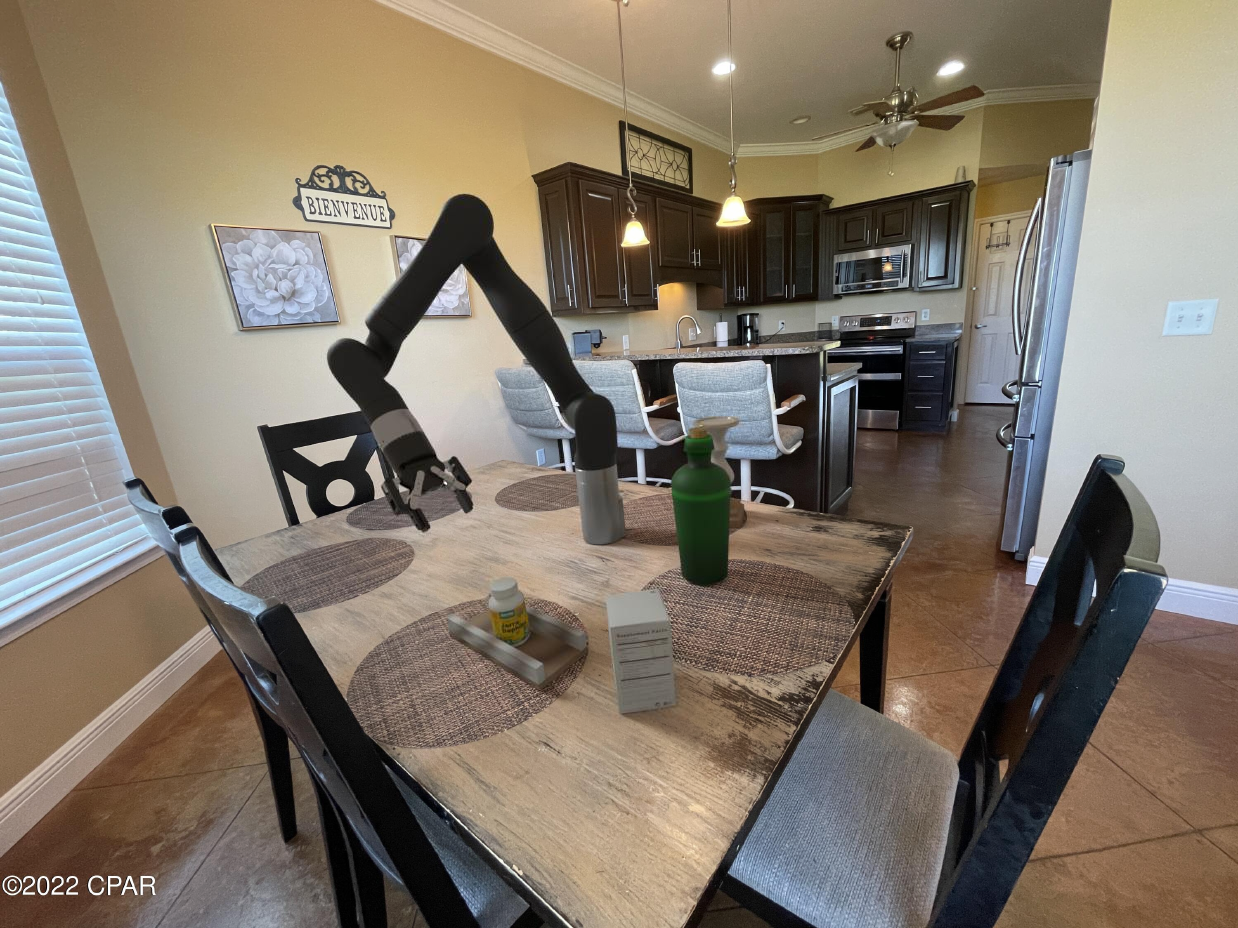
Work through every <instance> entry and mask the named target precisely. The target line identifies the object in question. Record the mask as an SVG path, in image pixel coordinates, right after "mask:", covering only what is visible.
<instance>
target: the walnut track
mask: <svg viewBox="0 0 1238 928" xmlns="http://www.w3.org/2000/svg"><path fill="white" fill-rule="evenodd" d="M491 596H492V595H491V592H489V593H488V599H489V600H490V598H491ZM526 610H527V616H528V622H529V627H530V636H529V638H528V639H527V641H526V642H525V643H523V644H522V645H520V646H517V647H512V646H510V645H508V644H506V643H505V642H503V641H501V640H499V639H497V638H496V637H495V635H494V630H493V625H492V620H491V615H490V610H489V607H488V608H486V609H484V610H483V611H481V612H479V613H477V614H476V615H474V616H473V617H471V618H469V619H468V620H467V619H466V620H465V619H463V618H462V617H459V616H457V615H455V614H454V613H452V614H450V615H448V616H446V623H447V627H448V632H449V637H451V638H452V639H454V640H456V641H457V642H458V643H461V644H462V645H464V646H466V648H469V649H470V650H472V651H474V652H475V653H477V654H479V655H480V656H481V657H483V658H485V659H487V660H488V661H490V662H492V663H493V664H495V665H497V666H498V667H500V668H501V669H503V670H505V671H507V672H508V673H510V674H511V675H513V676H515V677H516V678H518V679H520V680H521V681H523V682H525V683H526V684H528V685H529V686H531V687H532V688H535V689H536V690H538V691H539V692H540V691H542V690H543V689H544V688H545V687H547V686H548V685H549V684H550V683H551V682H553V681H554V680H555V679H556V678H558V677H559V676H560V675H562V673H564V672H565V671H567V669H569V668H571V666H573V665H574V664H575V663H576V662H578V661H579V660H580V659H581V658H582V657H584V656H585V655H586V654H588V647H587V637H586V632H585V631H584V630H581V629H579V628H577V627H575V626H573V625H570V624H569V623H566V622H563V621H561V620H560V619H557V618H556V617H553V616H551V615H548V614H546V613H544V612H542V611H540V610H539V609H536V608H533V607H531V606H529V605H526Z"/></svg>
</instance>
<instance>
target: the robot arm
mask: <svg viewBox="0 0 1238 928" xmlns="http://www.w3.org/2000/svg"><path fill="white" fill-rule="evenodd" d="M494 225H495V224H494V217H493V214H492V212H491V209H490V208H489V206H488V205H487V203H485V201H483V199H481V198H479V197H477V196H476V195H475V194H474V195H473V194H470V193H462V194H461V193H460V194H456V195H452V196H451V197H450V198H448V200H447V201H446V202H445V203H444V204H443V206H442V207H441V211H440V213H439V216H438V218H437V220H436V221H435V224H434V226H433V227H432V230H431V231H430V233H429V235H428V237H427V238H426V240H425V242H424V243H423V244H422V246H421V247H420V248H419V251H418V252H417V253H416V254H415V256H414V258H412V260H411V261H410V263H409V264H408V265H407V266H406V267H405V268H404V269H403V271H402V272H401V273H400V275H399V276H398V277H397V278H396V279H395V280H394V281H393V283H392V284H391V285H390V286H388V287H389V288H387V290H386V291H385V292H384V293H383V294H382V296H381V297H380V298H379V300H378V301H377V302H376V303H375V305H374V306H373V307H372V309H371V310H370V311H369V312H368V313H367V315H366V317H365V319H364V323H365V326H366V327H367V329H368V331H369V332H368V335H367V337H366V339H365V342H364V343H363V342H361V341H360V340H358V339H354V338H351V337H349V338H348V337H342V338H339V339H336V340H335V341H333V342H332V343H331V344H330V346H329V347H328V349H327V353H326V362H327V366H328V368H329V370H330V372H331V374H332V376H333V377H334V379H335V380H336V381H337V383H338V384H339V385H340V386H341V387H342V389H343V390H344V391H345V392H346V394H347V395H348V396H349V397H350V398H351V399H352V400H353V401H354V403H356V405H357V406H358V408H359V409H360V411H361V414H362V415H363V417H364V418H365V420H366V421H365V422H367V424H368V426H369V427H370V429H371V432H372V435H373V437H374V439H375V441H376V442H377V445H378V447H379V449H380V450H381V452H382V453H383V455H384V457H385V459H386V460H387V462H388V464H389V466H390V467H391V469H392V471H393V472H394V473H395V474H396V477H394V478H391V477H389V476H387V477H386V478H385V479H384V481H383V482H382V484H381V485H380V488H381V490H382V492H383V495H384V497H385V498H386V501H387V503H388V505H389V506H390V509H391V510H392V513H393V514H394V515H395V516H400V515H407V516H409V518H410V520H411V521H412V523H413V525H414V526H415V528H416V529H417V530H418V531H421V533H427V532H428V531H429V530H430V529H431V524H430V522H429V521H428V519H427V517H426V515H425V514H424V512H423V510H422V509H421V508H420V507H419V508H418V506H419V502H420V497H421V496H424V495H427V494H428V493H429V492H435V491H437V490H439V489H440V490H443V491H445V492H450V493H451V494H453V495H455V499H456V500H457V503H458V504H459V506H460V507H461V510H462V511H463V513H464V514H466V515H467V514H470V513H471V512H472V511H474V502H473V500H472V498H471V497H470V495H469V494H468V492H467V488H468V486H469V485H471V483H473V481H472V478H471V477H470V474H469V473H468V472H467V471H466V469H465V467H464V466H463V465H462V463H461V461H460V460H459V458H458V457H457V456H456V455H453V456H451V457H450V458H449V459H448V460H445V461H441V460H440V458H438V455H437V452H436V450H435V448H434V447H433V445H432V443H431V442H430V440H429V438H428V437H427V435H426V433H425V431H424V430H423V428H422V426H421V424H420V423H419V421H418V420H417V419H416V417H415V416H414V415H413V413H412V412H411V411H410V409H409V407H408V405H407V404H406V402H405V400H404V399H403V397H402V395H401V394H400V392H399V391H398V390H397V388H396V387H394V386H393V385H392V384H390V382H388V381H387V380H386V378H387V376H388V375H389V373H390V371H391V370H392V368H393V366H394V364H395V361H396V359H397V357H398V355H399V352H400V350H401V347H402V346H403V343H404V341H405V340H406V338H408V336H409V335H410V334H411V333H412V331H413V330H414V329H415V327H416V326H417V325H418V324H419V322H420V321H421V320H422V318H423V317H424V316H425V315H426V313H427V312H428V311H429V308H430V307H431V305H432V304H433V302H434V301H435V299H436V298H437V296H438V295H439V293H440V292H441V290H442V289H443V287H444V285H445V284H446V283H447V282H448V280H449V279H450V278H451V276H452V275H453V274H454V273H455V271H457V270H458V268H459V267H460V266H461V265H462V266H463V268H464V269H465V270H466V271H467V272H468V274H469V275H470V276H471V278H472V279H474V281H475V282H476V284H477V285H478V287H479V288H480V290H482V293H483V294H484V296H485V298H486V299H487V301H488V304H489V306H490V307H491V308H492V310H493V312H494V313H495V315H496V317H497V318H498V320H499V321H500V323H501V325H502V326H503V328H504V330H505V331H506V333H507V334H508V335H509V338H510V339H511V340H512V341H513V343H514V344H515V346H516V348H518V350H519V352H520V353H521V354H522V356H523V357H524V358H525V359H526V360H527V362H528V363H529V364H530V366H531V367H532V368H533V370H534V371H535V372H536V374H537V375H538V376H539V377H540V378H541V379H542V380H543V382H544V383H545V384H546V386H547V387H548V388H549V390H550V391H551V394H552V395H553V397H554V399H555V400H556V403H557V404H558V407H560V410H561V412H562V413H563V415H564V418H565V419H566V422H567V423H568V424H569V426H570V427H571V428H572V429H573V430H574V439H575V445H576V446H575V447H576V451H575V453H574V457H573V462H574V470H575V477H576V485H577V495H578V496H577V497H578V503H579V513H580V521H581V522H580V523H581V529H582V537H583V540H584V541H585V542H586V543H588V544H590V545H591V544H592V545H607V544H611V543H614V542H618V541H619V540H620V539H622V538H624V537H626V536H627V531H626V530H627V529H626V521H625V520H626V519H625V511H624V509H625V508H624V500H623V499H624V498H623V496H621V495H620V488H619V478H618V477H619V476H618V467H617V453H618V447H619V446H618V445H619V443H618V442H619V441H618V427H617V426H618V425H617V424H618V423H617V416H616V415H617V414H616V411H615V407H614V405H613V403H612V401H611V400H610V399H608V398H607V396H604V395H603V394H599V393H596V392H595V391H594V390H593V389H592V388H591V386H589V384H588V383H587V382H586V380H585V379H584V378H583V376H582V375H581V373H580V372H579V371H578V368H577V367H576V365H575V364H574V362H573V358H572V356H571V354H570V350H569V348H568V345H567V342H566V339H565V337H564V335H563V332H562V331H561V329H560V327H559V325H558V324H557V322H556V320H555V319H554V318H553V315H551V313H550V311H549V309H548V307H546V305H545V304H544V303H543V301H542V300H541V298H540V296H538V295H537V294H536V293H535V292H534V291H533V289H532V288H531V287H530V286H529V284H527V283H526V282H525V281H524V280H523V279H522V278H521V277H520V275H518V274H517V273H516V272H515V271H514V269H513V268H512V266H511V265H510V264H509V262H508V261H507V259H506V257H505V256H504V255H503V253H502V250H501V248H500V247H499V246H498V243H497V242H496V239H495V238H494V236H493V235H494V232H495V231H494V229H495V227H494ZM446 470H447V472H449V473H451V474H452V475H450V474H448V473H446V472H445V471H446ZM444 481H445V482H444ZM400 487H403V488H405V489H406V490H408V492H407V497H406V503H405V502H404V500H403V498H402V496H401V494H400V491H399V488H400Z"/></svg>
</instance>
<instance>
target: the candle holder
mask: <svg viewBox="0 0 1238 928" xmlns="http://www.w3.org/2000/svg"><path fill="white" fill-rule="evenodd" d="M739 419H740V418H737V417H733V416H709V417H703V418H698V419H695V421H693V426H694V428H695V427H706V428H708V430H707V434H710V435H712V438H713V443H714V447H715V450H713V451H712V453H711V462H712V463H715V464H717V465H718V466H720V467H722V468H724V469H725V471H726V472H727V473H728V475H729V476H730V480H731V484H733V481H734V479H735V473H734V471H733V469H732V467H731V466H730V464H729V463H728V461H727V460H726V453H727V452H728V450H729V447H730V446H729V445H728V444H727V442H726V440H725V439H726V438H725V437H726V435H727V433H728V432H729V429H730V428H734V427H737V426H738V425H739V424H740V420H739ZM732 493H733V489H732V488H731V490H730V521H729V529H740V528H741V527H743V521H744V517H745V503H742V502H741V501H742V500H741V499H740V498H733V497H731V495H732Z"/></svg>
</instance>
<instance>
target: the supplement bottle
mask: <svg viewBox="0 0 1238 928" xmlns="http://www.w3.org/2000/svg"><path fill="white" fill-rule="evenodd" d="M489 590H490V591H489V593H491V595H492V596H491V598H490V599H489V600H488V608H489V610H490V615H491V620H492V625H493V630H494V635H495V637H496V638H497V639H499V640H501V641H503V642H505V643H506V644H508V645H510V646H512V647H517V646H520V645H522V644H523V643H525V642H526V641H527V639H528V638H529V636H530V627H529V622H528V616H527V610H526V606H527V605H526V600H525V595H524V593H523V591H521V590H519V586H518V581H517V579H516V578H514V577H511V576H509V577H507V576H506V577H502V578H498V579H496V580H494V581H492V582H491V583H490V584H489Z"/></svg>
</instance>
